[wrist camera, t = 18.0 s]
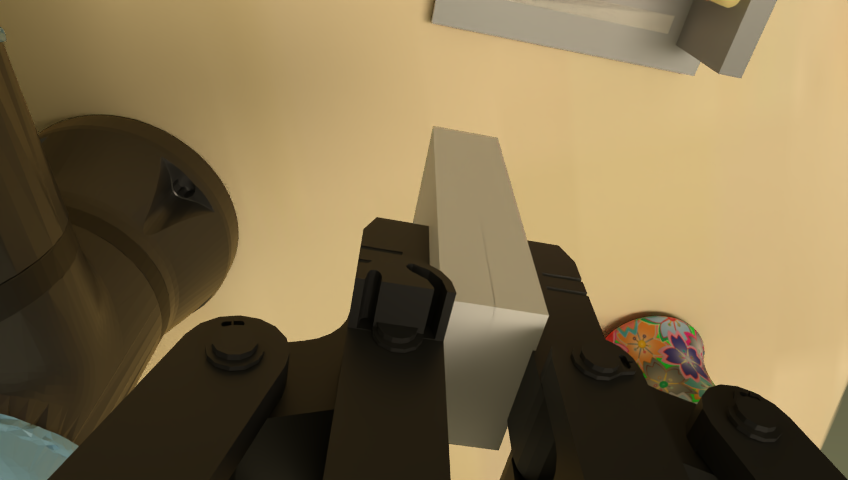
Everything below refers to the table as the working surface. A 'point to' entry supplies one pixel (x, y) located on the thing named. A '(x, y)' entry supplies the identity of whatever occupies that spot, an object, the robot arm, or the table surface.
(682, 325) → the mug
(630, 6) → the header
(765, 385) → the table surface
